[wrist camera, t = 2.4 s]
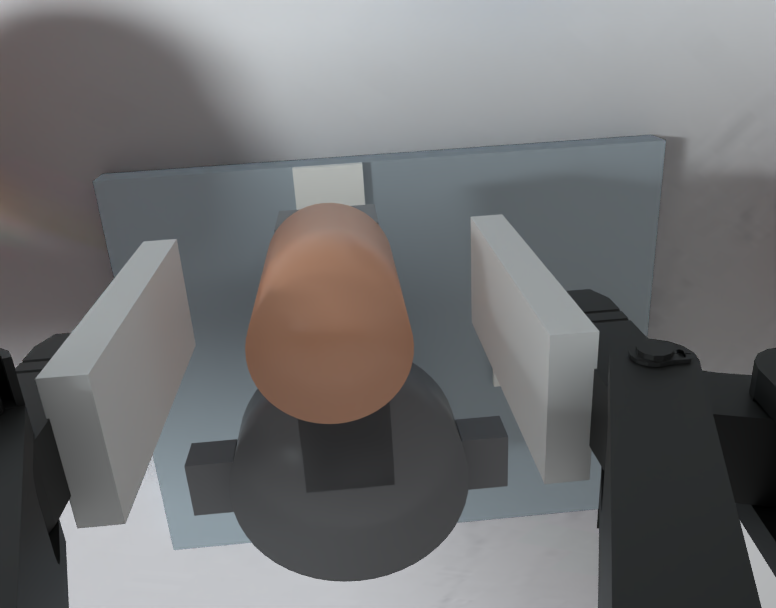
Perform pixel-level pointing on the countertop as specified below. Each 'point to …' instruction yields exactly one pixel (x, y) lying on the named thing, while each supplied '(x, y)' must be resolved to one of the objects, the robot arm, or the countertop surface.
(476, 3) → the countertop surface
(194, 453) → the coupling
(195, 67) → the countertop surface
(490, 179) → the lock base
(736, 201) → the countertop surface
